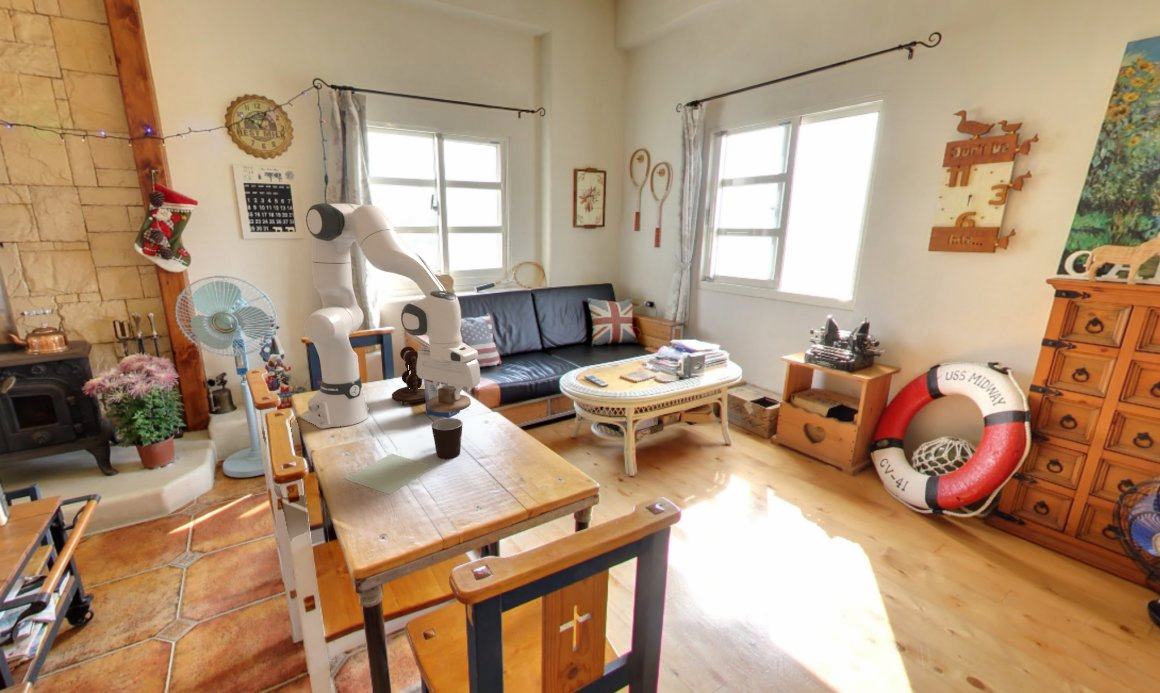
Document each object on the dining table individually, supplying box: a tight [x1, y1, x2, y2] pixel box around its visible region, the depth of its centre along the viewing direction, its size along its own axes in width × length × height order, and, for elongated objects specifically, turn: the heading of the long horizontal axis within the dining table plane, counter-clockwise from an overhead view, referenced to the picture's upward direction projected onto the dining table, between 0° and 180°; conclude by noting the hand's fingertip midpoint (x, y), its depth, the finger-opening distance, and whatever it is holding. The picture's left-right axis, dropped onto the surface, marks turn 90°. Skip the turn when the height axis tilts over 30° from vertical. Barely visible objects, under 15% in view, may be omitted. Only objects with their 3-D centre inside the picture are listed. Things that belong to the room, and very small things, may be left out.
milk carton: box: [423, 379, 461, 418], centre depth 169 cm, size 10×6×20 cm, turn 67°
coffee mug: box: [431, 417, 464, 460], centre depth 141 cm, size 12×9×10 cm
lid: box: [427, 385, 472, 413], centre depth 137 cm, size 12×12×5 cm
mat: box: [344, 453, 435, 495], centre depth 129 cm, size 16×16×1 cm
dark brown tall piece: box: [391, 346, 425, 406], centre depth 181 cm, size 15×15×20 cm
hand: (448, 397), depth 137 cm, fingers closed on lid, 4 cm apart
